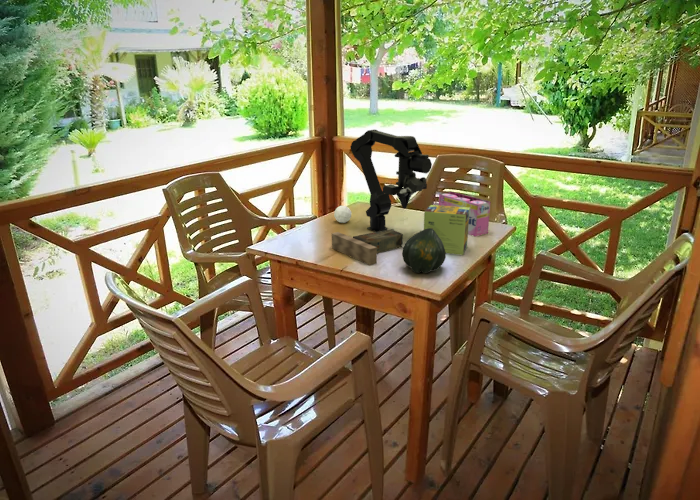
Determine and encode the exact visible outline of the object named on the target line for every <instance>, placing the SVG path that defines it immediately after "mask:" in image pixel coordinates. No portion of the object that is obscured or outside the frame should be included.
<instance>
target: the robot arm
mask: <svg viewBox="0 0 700 500" xmlns="http://www.w3.org/2000/svg"><path fill="white" fill-rule="evenodd" d="M376 143H380V144H383V145H386V146H389V147H392V148H393V149H394V150H395V151H397V152H396V154H394V158H398V170H397V171H395V173H396V175H397V181H395V184H387V185H384V186H383V187H381V183H380V181H379V178H378V175H377V171H376V168H375V165H374V163H373V160H372V154H373V148H372V147H373V146H374V145H375V144H376ZM350 151H351V153H352V155H353V157H354V158H355V159H356V160H357V161H358V162H359V164H360V167H361V169H362V172H363V176H364V179H365V181H366V184H367V187H368V190H369V193H370V197H369V205H370V206H369V207H368V208H367V210H366V211H365V214H366V217H368V218H369V227H367V230H369V231H373V232H379V231H385V230H389V228H388V227H386V215H389V212H390V210H391V207H392V200H391V198H390V196H397V199H398V200H399V202H400V205H401V208H402V209H404V210H405V209H407V207H408V205H409V201H410V199H411V197H412V195H414V194H416V193H418V192H423V190H426V189H427V188H428V184H427V178H426V177H424V176H423V177H420V178H419V177H417V175H416V173H421V174H428V173H429V172H430V171H431V170H432V167H433V164H432V160H431V159H430V157H429V154H423V152H422V150H421V148H420V146H419V144H418V142H417V138H416V137H415V136H412V135H401V136H400V135H394V134H391V133H387V132H383V131H381V130H377V129H369V130H367V131H365V132H364V133H363V134H362V135H360V136H359V137H357V138H356V139H355V140H352V141H351V145H350Z"/></svg>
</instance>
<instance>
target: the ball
mask: <svg viewBox="0 0 700 500" xmlns="http://www.w3.org/2000/svg"><path fill="white" fill-rule="evenodd" d="M333 215H334V216H333V217H334V218H335V220H336V221H337V222H339V223H341V224H342V223H343V224H346V223H347V222H348V221H350V219H352V211H351V209H350V208H349V207H348V206H347V205H339V206H338V207H336V208H335V210H334V214H333Z"/></svg>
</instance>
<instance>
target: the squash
mask: <svg viewBox="0 0 700 500" xmlns="http://www.w3.org/2000/svg"><path fill="white" fill-rule="evenodd" d="M446 255H447V253H445V248H444V245H443V242H442V241H441V239H440V238H439V237H438V235H437V234H436V232H435V231H434V230H433V228H428V229H425V230H424V229H423V230H420V231H419V232H416V233H415V234H414V235H412V236H411V237H409V238H408V239H407V240H406V241H405V242H404V245H403V246H402V252H401V256H402V259H403V262H404V263H405V265H406V266H407V267H409V268H410V269H411V271H412V272H413V273H416V274H419V273H423V274H428V273H430V272H432V271H436V270H438V269H439V268H440V267H442V266H443V264H444V263H445V260H446Z"/></svg>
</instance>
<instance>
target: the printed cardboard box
mask: <svg viewBox="0 0 700 500" xmlns="http://www.w3.org/2000/svg"><path fill="white" fill-rule="evenodd" d="M352 238H355V239H357V240H360V241H362V242H365V243H367V244H370V245H372V246H375V247H377V254H379V253H384V252H387V251H393V250H397V249H400V248H401V249H402V248H403V244H404V243H403V242H404V241H403V239H404V238H403V233H401V232H399V231H398V230H395V229H394V228H391V229H387V230H383V231H379V232H375V231H373V232H369V233H363V234H359V235H358V234H357V235H355V236H352Z"/></svg>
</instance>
